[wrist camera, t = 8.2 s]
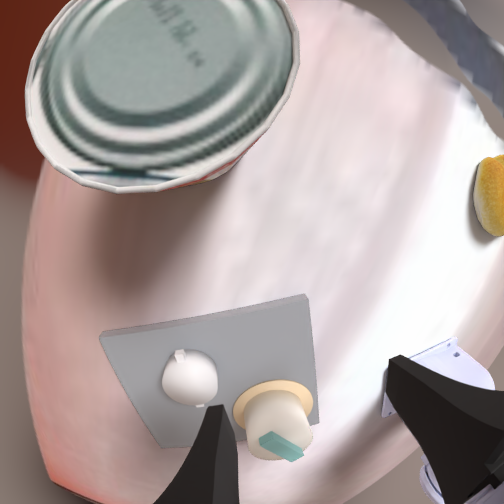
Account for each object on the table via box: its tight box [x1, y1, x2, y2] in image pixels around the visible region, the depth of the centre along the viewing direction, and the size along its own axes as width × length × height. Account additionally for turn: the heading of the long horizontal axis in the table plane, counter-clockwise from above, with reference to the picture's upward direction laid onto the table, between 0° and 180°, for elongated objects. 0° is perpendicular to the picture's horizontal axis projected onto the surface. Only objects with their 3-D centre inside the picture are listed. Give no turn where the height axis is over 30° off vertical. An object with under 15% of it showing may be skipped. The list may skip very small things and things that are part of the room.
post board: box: [99, 294, 319, 448], centre depth 20 cm, size 16×14×3 cm
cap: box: [244, 390, 313, 462], centre depth 19 cm, size 5×5×5 cm
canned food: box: [25, 0, 300, 194], centre depth 11 cm, size 8×8×12 cm
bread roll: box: [473, 155, 504, 236], centre depth 19 cm, size 8×9×4 cm
